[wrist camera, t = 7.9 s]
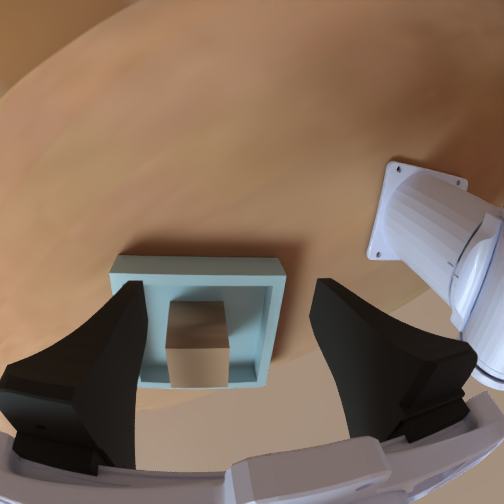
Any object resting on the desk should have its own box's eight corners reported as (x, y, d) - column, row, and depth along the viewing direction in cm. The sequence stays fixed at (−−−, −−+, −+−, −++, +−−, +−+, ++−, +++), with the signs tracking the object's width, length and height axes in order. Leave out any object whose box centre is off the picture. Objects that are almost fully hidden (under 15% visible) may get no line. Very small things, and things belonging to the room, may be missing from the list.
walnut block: (223, 301, 23) (229, 348, 18) (222, 340, 24) (227, 386, 20) (169, 301, 22) (165, 348, 17) (173, 340, 24) (171, 387, 19)
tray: (277, 257, 22) (286, 275, 20) (260, 366, 27) (264, 386, 25) (117, 255, 20) (109, 273, 18) (136, 366, 25) (133, 386, 23)
